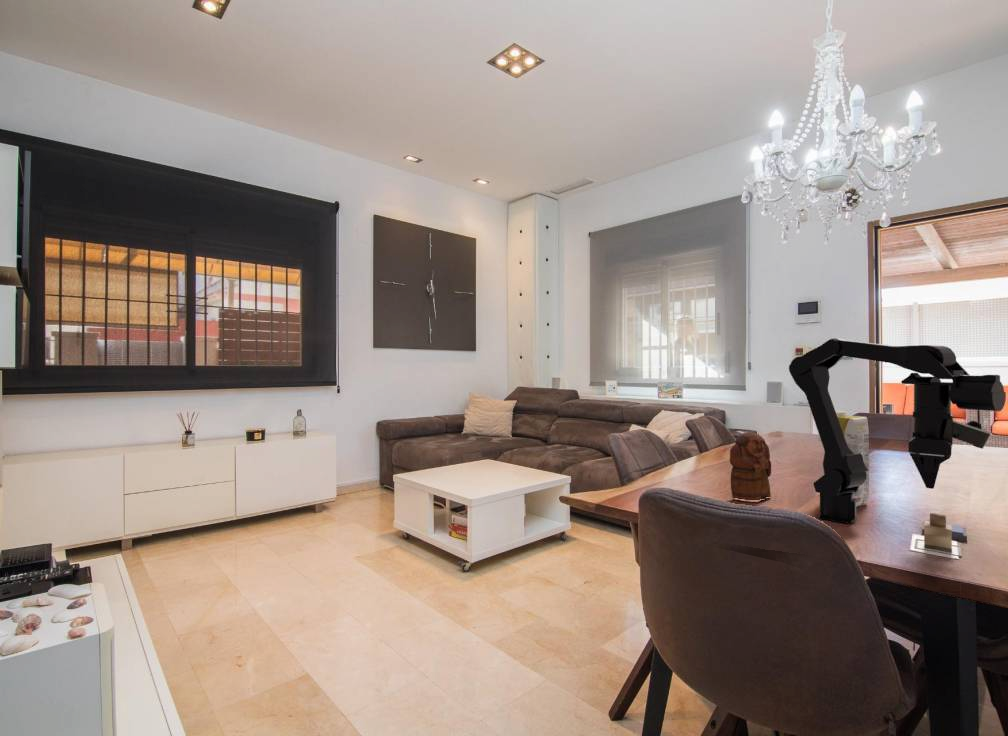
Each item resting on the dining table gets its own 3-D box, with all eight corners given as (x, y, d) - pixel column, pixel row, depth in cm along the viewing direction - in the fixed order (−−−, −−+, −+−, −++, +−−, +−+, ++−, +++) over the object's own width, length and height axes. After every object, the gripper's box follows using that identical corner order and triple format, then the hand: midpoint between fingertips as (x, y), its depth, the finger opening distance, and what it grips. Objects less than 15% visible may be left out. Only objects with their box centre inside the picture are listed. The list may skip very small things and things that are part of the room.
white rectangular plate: (910, 550, 97) (910, 549, 97) (912, 534, 106) (912, 533, 106) (961, 560, 92) (961, 558, 92) (959, 542, 101) (959, 541, 101)
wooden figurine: (749, 504, 130) (748, 435, 130) (727, 499, 135) (727, 432, 135) (776, 498, 135) (776, 432, 135) (754, 493, 141) (754, 430, 141)
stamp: (924, 547, 98) (924, 515, 98) (924, 542, 101) (924, 510, 101) (951, 552, 95) (951, 519, 95) (951, 547, 98) (951, 514, 98)
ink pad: (922, 534, 106) (922, 526, 106) (922, 526, 112) (922, 519, 112) (966, 541, 102) (966, 534, 102) (965, 533, 107) (965, 525, 107)
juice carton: (839, 497, 136) (839, 409, 136) (872, 504, 129) (872, 412, 129) (821, 502, 132) (820, 411, 132) (854, 509, 125) (853, 413, 125)
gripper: (989, 413, 89) (988, 500, 89) (985, 406, 103) (984, 482, 103) (908, 409, 96) (907, 490, 97) (915, 403, 110) (914, 474, 110)
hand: (931, 484), depth 101 cm, fingers open, 9 cm apart
